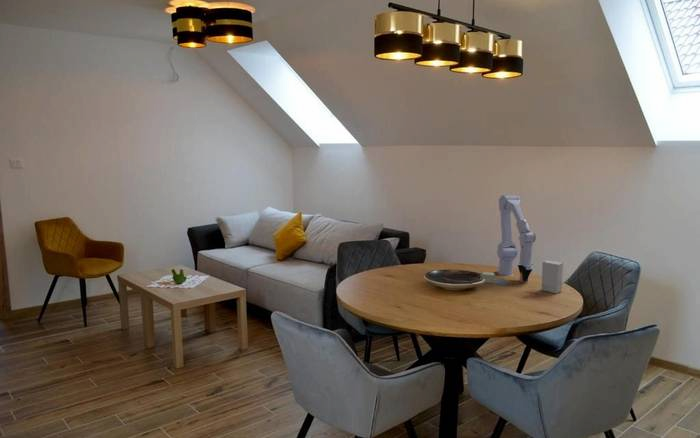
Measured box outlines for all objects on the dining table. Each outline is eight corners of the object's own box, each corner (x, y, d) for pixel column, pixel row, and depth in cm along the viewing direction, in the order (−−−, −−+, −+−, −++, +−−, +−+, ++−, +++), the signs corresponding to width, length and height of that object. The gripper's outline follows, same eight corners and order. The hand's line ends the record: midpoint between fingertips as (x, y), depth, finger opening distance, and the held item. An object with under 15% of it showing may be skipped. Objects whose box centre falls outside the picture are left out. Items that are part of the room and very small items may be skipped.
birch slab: (479, 279, 282) (480, 275, 281) (493, 279, 281) (493, 276, 281) (482, 282, 275) (482, 278, 274) (495, 283, 274) (496, 279, 274)
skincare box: (561, 292, 264) (564, 262, 262) (556, 294, 260) (558, 264, 258) (545, 288, 270) (548, 259, 268) (539, 290, 266) (542, 261, 264)
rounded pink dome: (518, 281, 282) (519, 272, 281) (526, 281, 281) (527, 272, 281) (520, 283, 277) (520, 274, 277) (528, 284, 277) (529, 274, 276)
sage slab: (481, 275, 281) (481, 271, 280) (492, 276, 280) (493, 272, 280) (483, 278, 275) (483, 274, 274) (495, 279, 274) (495, 275, 274)
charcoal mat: (466, 277, 287) (466, 276, 286) (504, 279, 285) (504, 278, 285) (470, 285, 271) (470, 284, 271) (510, 287, 269) (510, 286, 269)
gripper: (537, 258, 270) (535, 284, 272) (530, 252, 284) (528, 276, 286) (523, 257, 270) (521, 283, 272) (516, 251, 285) (514, 276, 287)
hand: (523, 280), depth 279 cm, fingers closed on rounded pink dome, 4 cm apart
